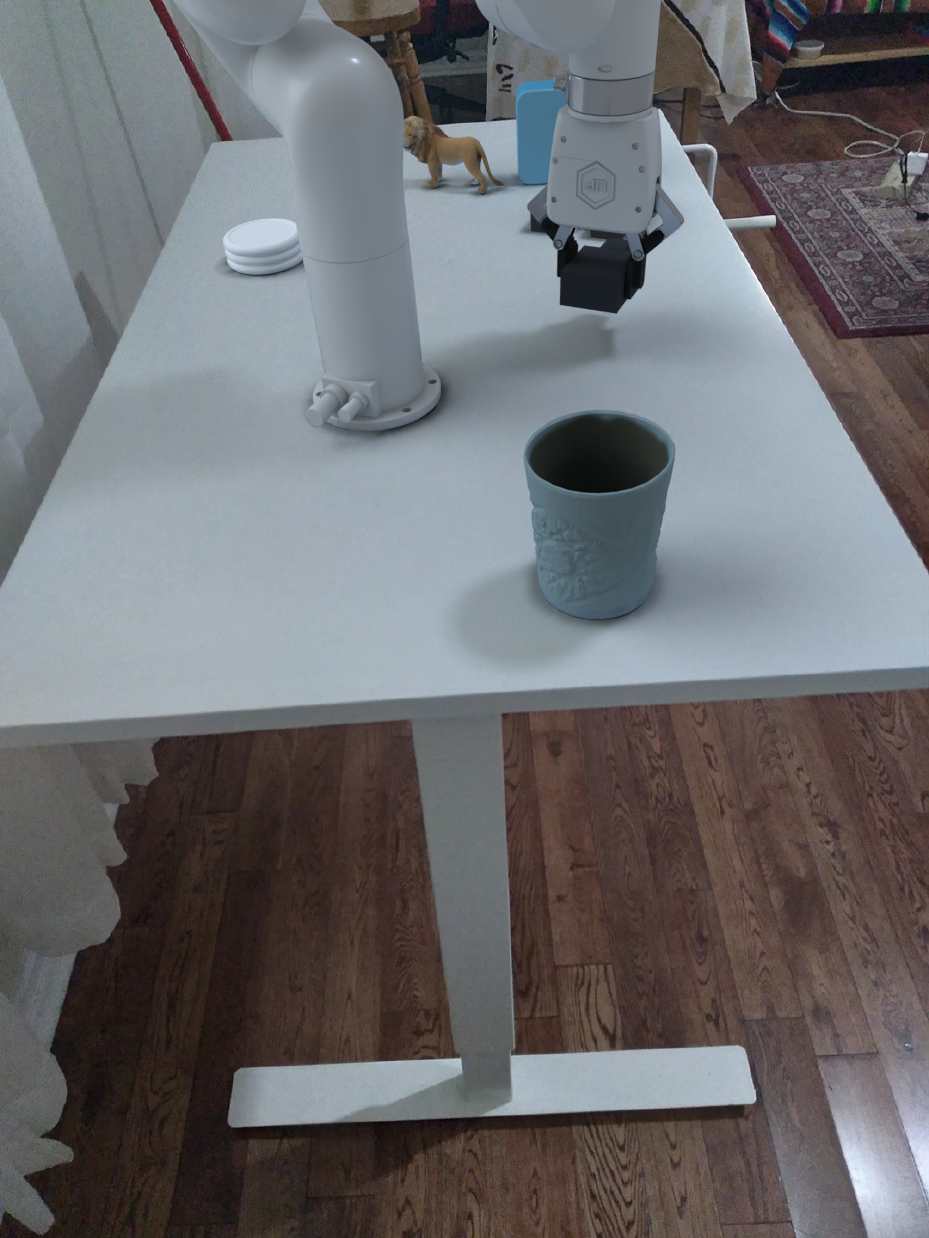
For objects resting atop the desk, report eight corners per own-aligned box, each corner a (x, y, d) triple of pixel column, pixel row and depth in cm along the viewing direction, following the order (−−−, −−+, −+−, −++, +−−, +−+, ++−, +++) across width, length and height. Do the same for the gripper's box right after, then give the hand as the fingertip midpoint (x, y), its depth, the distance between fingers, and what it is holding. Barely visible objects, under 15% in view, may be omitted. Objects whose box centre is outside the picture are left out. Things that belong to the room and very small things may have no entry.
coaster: (215, 275, 120) (208, 247, 118) (247, 243, 127) (241, 215, 125) (290, 278, 118) (284, 249, 116) (318, 245, 125) (313, 217, 122)
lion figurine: (399, 190, 137) (392, 122, 131) (413, 177, 141) (407, 110, 135) (497, 196, 133) (494, 125, 127) (509, 182, 137) (507, 113, 131)
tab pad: (616, 314, 95) (619, 279, 93) (559, 305, 97) (560, 271, 95) (645, 275, 101) (648, 242, 99) (591, 268, 103) (592, 235, 101)
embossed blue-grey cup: (650, 537, 77) (660, 404, 68) (675, 624, 69) (690, 486, 61) (522, 547, 77) (517, 415, 69) (533, 635, 69) (529, 499, 61)
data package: (602, 169, 138) (604, 76, 130) (604, 180, 135) (607, 85, 126) (517, 174, 139) (515, 82, 131) (518, 186, 135) (515, 91, 127)
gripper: (504, 97, 86) (506, 292, 98) (695, 112, 80) (672, 317, 93) (535, 76, 91) (533, 264, 103) (717, 89, 85) (693, 286, 98)
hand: (599, 287), depth 98 cm, fingers closed on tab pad, 6 cm apart
